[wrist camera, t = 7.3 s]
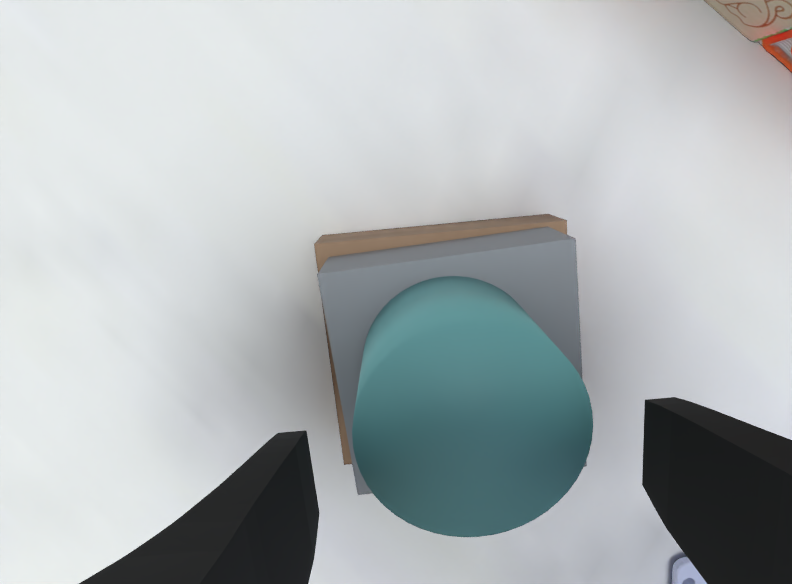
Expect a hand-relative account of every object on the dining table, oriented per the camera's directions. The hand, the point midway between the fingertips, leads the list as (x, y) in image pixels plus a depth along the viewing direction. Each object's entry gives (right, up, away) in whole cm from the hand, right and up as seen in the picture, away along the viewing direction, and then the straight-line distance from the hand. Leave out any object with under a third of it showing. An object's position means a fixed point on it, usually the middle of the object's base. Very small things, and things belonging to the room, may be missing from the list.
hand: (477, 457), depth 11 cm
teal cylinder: (0, +1, +4) cm, 4 cm away
